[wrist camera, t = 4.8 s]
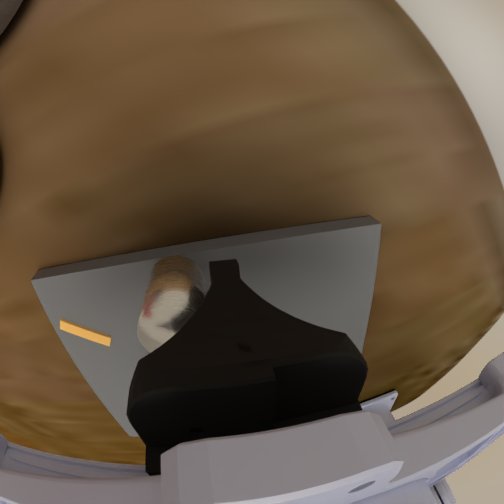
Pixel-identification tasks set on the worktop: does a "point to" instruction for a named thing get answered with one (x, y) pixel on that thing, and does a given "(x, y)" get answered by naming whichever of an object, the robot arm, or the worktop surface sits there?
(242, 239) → the dial plate
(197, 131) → the worktop surface
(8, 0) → the smart speaker
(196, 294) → the dial
